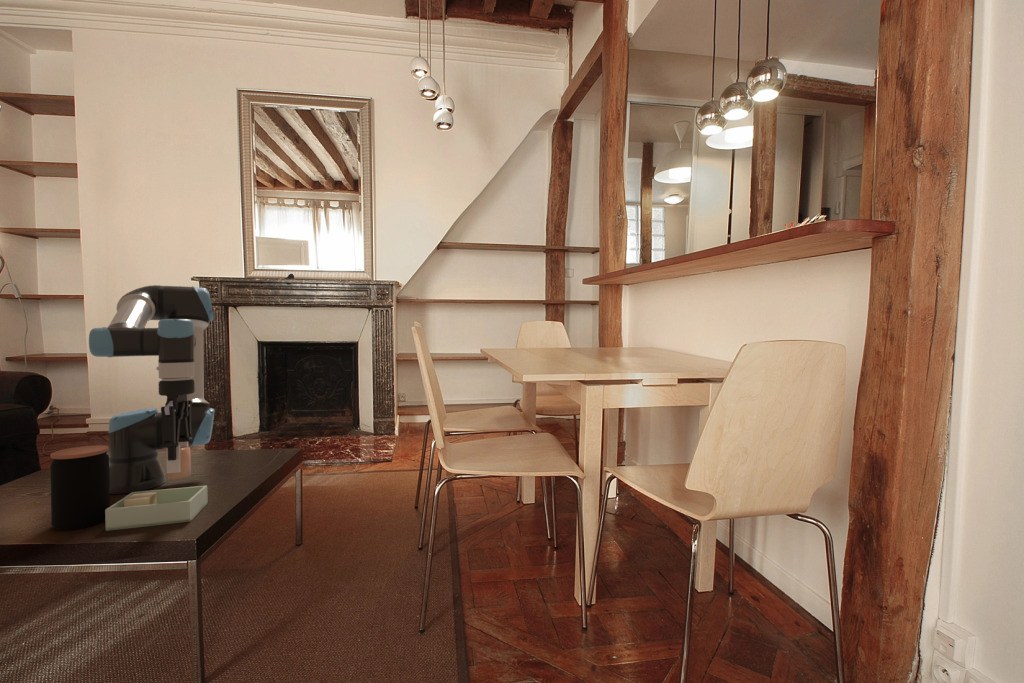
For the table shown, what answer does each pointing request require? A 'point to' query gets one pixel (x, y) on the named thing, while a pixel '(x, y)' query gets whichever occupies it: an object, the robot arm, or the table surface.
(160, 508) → the tray
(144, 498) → the beech cube
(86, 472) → the coffee jar
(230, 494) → the table surface
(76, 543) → the table surface
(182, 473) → the peach block
